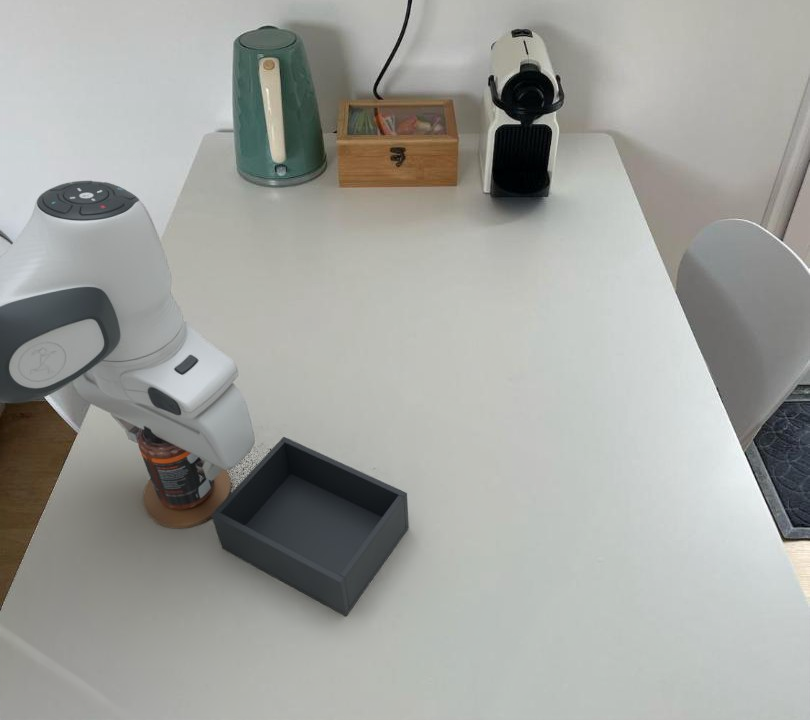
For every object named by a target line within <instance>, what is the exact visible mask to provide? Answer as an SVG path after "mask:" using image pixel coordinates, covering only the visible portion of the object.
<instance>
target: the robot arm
mask: <svg viewBox="0 0 810 720" xmlns="http://www.w3.org/2000/svg"><path fill="white" fill-rule="evenodd" d="M169 265H170V264H169V261H168V258H167V254H166V253H165V249H164V246H163V244H162V241H161V238H160V236H159V233H158V230H157V228H156V225H155V223H154V221H153V219H152V216H151V215H150V213H149V211H148V209H147V207H146V206H145V204H144V202H143V201H141V199H140V198H139V197H137V196H136V194H133V193H132V192H130V191H128V190H126V189H125V188H123V187H121V186H119V185H116V184H114V183H110V182H107V181H105V182H102V181H96V180H94V181H93V180H77V181H71V182H70V181H69V182H65V183H62V184H58V185H56V186H54V187H53V186H52V187H51V188H49V189H47V190H45V191H44V192H42V193H41V194H40V195H39V196H38V198H37V199H36V201H35V204H34V208H33V211H32V214H31V216H30V218H29V220H28V222H27V223H26V224H25V226H24V228H23V229H22V230H21V232H20V234H19V235H18V236H17V237H16V239H15V240H14V241H12V239H11V238H10V237H9V236H8V235H7V234H6V233H4V231H2V230H1V229H0V403H2V404H22V403H23V404H24V403H28V402H32V401H38V400H40V399H42V398H43V399H44V398H46V397H47V396H50V395H52V394H54V393H55V392H57V391H60V390H61V389H62V388H64V387H66V386H67V385H69V384H72V387H73V388H74V391H75V392H76V394H77V395H78V396H79V397H80V398H81V399H82V400H83V401H84V402H86V403H88V404H90V405H92V406H95V407H96V408H99V409H101V410H103V411H104V412H106V413H108V414H110V415H111V417H112V418H113V419H114V420H115V422H117V423H118V424H119V425H120V427H121V428H122V429H123V430H124V432H125V435H126V437H127V439H128V440H129V441H132V442H133V443H136V444H138V434H139V431H140V429H143V430H144V426H146V427H148V428H150V429H151V431H152V433H154V434H155V435H156V436H157V437H159V438H161V439H163V440H165V441H167V442H169V443H171V444H173V445H175V446H177V447H179V448H181V449H183V450H185V451H187V452H189V453H191V454H193V455H195V456H197V457H199V458H200V459H201V460H200V461H199V462H198V463H197V464H196V467H197V470H198V471H199V472H198V474H199V475H201V476H203V477H205V478H206V479H208V480H210V481H212V480H214V479H215V478H216V477H217V476H218V475H219V474H220V472H221V470H222V469H223V470H227V471H231V470H233V469H234V468H235V467H236V466H238V465H239V464H240V463H241V462H242V461H243V460H244V459H245V458H246V457H247V456H248V455H249V453H250V452H251V451H252V450H253V448H254V446H255V432H254V428H253V423H252V419H251V415H250V411H249V408H248V405H247V402H246V399H245V397H244V395H243V393H242V392H241V390H240V389H239V388H238V387H237V385H236V384H234V382H235V381H236V379H237V378H238V377H239V369H238V366H237V363H236V362H235V360H233V359H232V358H231V357H230V356H229V355H228V354H226V353H225V352H223V351H221V350H220V349H219V348H218V347H216V346H214V345H213V344H212V343H211V342H210V341H208V340H207V339H206V338H205V337H204V336H203V335H201V334H200V333H199V332H198V331H197V329H195V328H194V327H193V325H191V324H190V323H189V322H187V321H185V318H184V313H183V311H182V308H181V307H180V305H179V303H178V302H177V300H176V298H175V297H174V296H173V293H172V284H173V283H172V281H173V280H172V279H173V278H172V272H171V269H170V266H169Z"/></svg>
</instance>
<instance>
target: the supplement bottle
mask: <svg viewBox="0 0 810 720" xmlns="http://www.w3.org/2000/svg"><path fill="white" fill-rule="evenodd" d="M137 445H138V449H139V451H140V455H141V458H142V459H143V462H144V465H145V467H146V471H147V473H148V475H149V478H150V479H151V481H152V483H153V486H154V488H155V491H156V493H157V495H158V498H159V499H160V501H161V502H162V503H163V504H164V505H166V506H167V507H169V508H172V509H188V508H192V507H195V506H197V505H199V504H200V503H202V502H203V501H205V500H206V499H207V498H208V497H209V495H210V494H211V492H212V490H213V487H214V480H212V481H210V480H208V479H206V478H205V477H203V476H201V475H199V474H198V472H199V471H198V470H197V467H196V464H197V463H198V462H199V461H200V460H201V459H200V458H199V457H197V456H195V455H193V454H191V453H189V452H187V451H185V450H183V449H181V448H179V447H177V446H175V445H173V444H171V443H169V442H167V441H165V440H163V439H161V438H159V437H157V436H156V435H155V434H154V433H152V431H151V429H150V428H148V427H146V426H144V430H143V429H140V431H139V434H138V443H137Z"/></svg>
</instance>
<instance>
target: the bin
mask: <svg viewBox="0 0 810 720" xmlns="http://www.w3.org/2000/svg"><path fill="white" fill-rule="evenodd" d="M408 506H409V505H408V492H406V491H404V490H402V489H400V488H397V487H395V486H392V485H391V484H388V483H386V482H384V481H382V480H380V479H377V478H375V477H373V476H371V475H369V474H366V473H365V472H363V471H360V470H357V469H356V468H354V467H351V466H349V465H347V464H345V463H342V462H340V461H338V460H335V459H334V458H332V457H329V456H327V455H325V454H323V453H320V452H319V451H317V450H314V449H312V448H310V447H307V446H306V445H303V444H301V443H298V442H297V441H294V440H292V439H290V438H288V437H286V436H282V438H281V439H280V440H279V441H278V442H277V443H276V444H275V445H274V446H273V447H272V449H270V450H269V452H267V454H266V455H264V457H263V458H262V459H261V460H260V461H259V463H257V465H256V466H255V467H254V468H253V469H252V470H251V471H250V472H249V473H248V474H247V475H246V476H245V477H244V479H243V480H242V481H241V482H240V483H239V484H238V485H237V486H236V487H235V488H234V489H233V490H232V491H231V494H230V495H229V496H228V497H227V498H226V499H225V500H224V501H223V502H222V503H221V504H220V506H219V507H218V508H217V509H216V510H215V511H214V512H213V513H212V514H211V516H212V518H211V519H212V522H213V525H214V528H215V531H216V534H217V537H218V540H219V543H220V547H221V549H222V550H224V551H225V552H227V553H229V554H231V555H233V556H235V557H236V558H238V559H240V560H242V561H244V562H245V563H247V564H249V565H251V566H252V567H254V568H255V569H258V570H260V571H262V572H263V573H265V574H268V575H269V576H271V577H273V578H274V579H276V580H278V581H280V582H281V583H282V582H283V583H284V584H286V585H287V586H289V587H291V588H293V589H295V590H297V591H298V592H300V593H302V594H304V595H306V596H308V597H309V598H311V599H313V600H315V601H317V602H318V603H320V604H322V605H324V606H326V607H328V608H329V609H331V610H333V611H335V612H337V613H339V614H340V615H343V616H344V617H347V616H348V615H349V613H350V612H351V610H352V609H353V608H354V606H355V604H356V603H357V602H358V600H359V599H360V597H362V595H363V593H364V592H365V590H366V589H367V588H368V586H369V585H370V583H371V582H372V581H373V580H374V578H375V577H376V575H377V574H378V572H379V571H380V570H381V568H382V566H383V565H384V564H385V563H386V561H387V559H388V558H389V557H390V556H391V554H392V553H393V551H394V550H395V548H396V547H397V545H398V544H399V542H400V541H401V540H402V538H403V537H404V535H405V534H406V533H407V531H408V530H409V528H410V527H409V525H410V524H409V507H408Z"/></svg>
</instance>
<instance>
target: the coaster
mask: <svg viewBox="0 0 810 720" xmlns="http://www.w3.org/2000/svg"><path fill="white" fill-rule="evenodd" d="M232 488H233V487H232V479H231V476H230V473H229V470H223V469H222V470H221V472H220V474H219V475H218V476H217V477H216V478H215V479H214V487H213V490H212V492H211V494H210V495H209V497H208V498H207V499H206V500H205V501H203V502H202V503H200V504H199V505H197V506H195V507H192V508H188V509H172V508H169V507H167V506H166V505H164V504H163V503H162V502H161V501H160V499H159V498H158V495H157V493H156V491H155V488H154V486H153V483H152V481H151V478H150V479H149V480H148V482H147V483H146V486H145V488H144V491H143V495H142V496H143V497H142V501H143V506H144V509H145V511H146V513H147V515H148V516H149V517H150V519H151V520H152V521H153V522H156V523H157V524H158V525H160V526H163V527H166V528H171V529H187V528H193V527H196V526H199V525H201V524H204V523H206V522H207V521H209V520H211V519H212V516H211V514H212V513H213V512H214V511H215V510H216V509H217V508H218V507H219V506H220V504H221V503H222V502H223V501H224V500H225V499H226V498H227V497H228V496H229V495H230V494H231V493H232Z"/></svg>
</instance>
